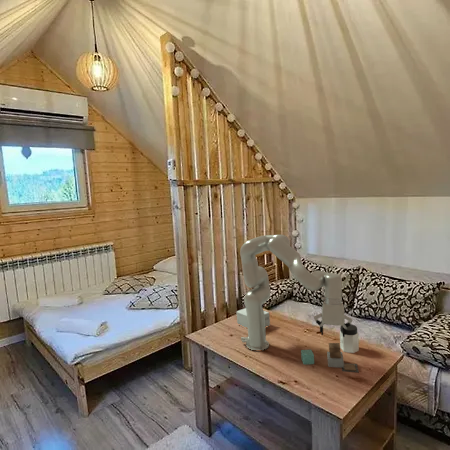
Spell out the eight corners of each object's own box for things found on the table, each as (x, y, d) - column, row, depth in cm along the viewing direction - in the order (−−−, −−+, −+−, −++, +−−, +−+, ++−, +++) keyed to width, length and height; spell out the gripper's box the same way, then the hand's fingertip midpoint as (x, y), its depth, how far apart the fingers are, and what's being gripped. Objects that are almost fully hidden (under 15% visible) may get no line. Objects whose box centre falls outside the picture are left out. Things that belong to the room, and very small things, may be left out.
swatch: (342, 371, 150) (342, 370, 150) (341, 363, 157) (341, 362, 156) (358, 372, 148) (358, 371, 148) (356, 364, 155) (356, 363, 155)
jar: (338, 345, 174) (337, 324, 172) (353, 344, 174) (352, 322, 173) (345, 354, 165) (344, 331, 163) (361, 352, 165) (360, 330, 164)
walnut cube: (330, 357, 155) (329, 347, 154) (329, 352, 159) (328, 342, 159) (341, 358, 153) (340, 347, 153) (340, 352, 158) (339, 342, 158)
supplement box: (236, 325, 209) (235, 311, 208) (251, 319, 217) (250, 305, 216) (255, 333, 196) (254, 318, 195) (270, 326, 204) (269, 312, 203)
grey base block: (328, 367, 154) (327, 359, 154) (327, 359, 161) (327, 351, 161) (344, 367, 152) (343, 359, 152) (342, 359, 159) (342, 351, 159)
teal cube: (303, 365, 158) (303, 355, 157) (301, 359, 163) (301, 350, 162) (314, 364, 158) (313, 354, 157) (311, 359, 163) (311, 349, 162)
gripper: (313, 301, 152) (313, 336, 154) (353, 304, 148) (353, 340, 150) (313, 296, 159) (313, 329, 162) (351, 298, 155) (351, 332, 157)
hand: (332, 334), depth 156 cm, fingers open, 9 cm apart
